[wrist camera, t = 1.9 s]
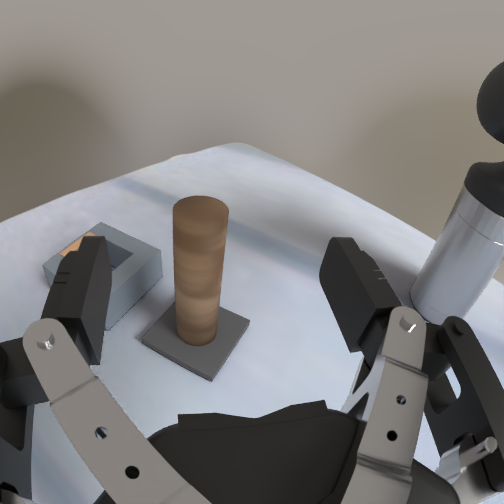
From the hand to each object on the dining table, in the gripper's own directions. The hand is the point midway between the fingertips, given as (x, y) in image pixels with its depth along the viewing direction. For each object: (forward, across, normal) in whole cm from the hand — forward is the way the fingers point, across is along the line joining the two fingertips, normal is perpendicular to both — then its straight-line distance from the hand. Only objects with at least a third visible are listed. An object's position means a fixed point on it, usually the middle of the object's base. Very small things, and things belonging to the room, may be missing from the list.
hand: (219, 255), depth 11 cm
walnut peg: (+11, 0, +19) cm, 22 cm away
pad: (+11, 0, +20) cm, 23 cm away
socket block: (+19, +10, +20) cm, 29 cm away
